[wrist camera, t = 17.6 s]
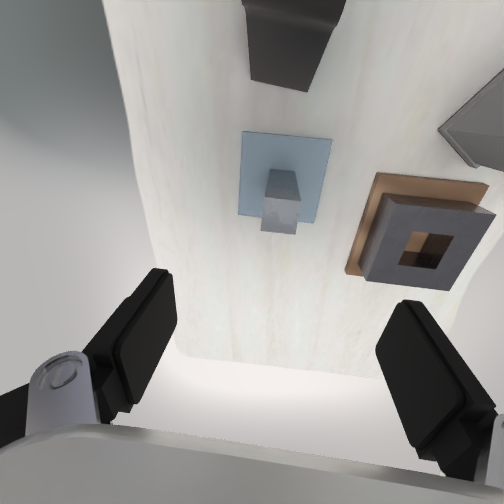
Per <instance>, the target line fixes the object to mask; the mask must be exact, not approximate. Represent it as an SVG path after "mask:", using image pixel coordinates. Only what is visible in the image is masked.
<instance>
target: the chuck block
mask: <svg viewBox="0 0 504 504" xmlns="http://www.w3.org/2000/svg"><path fill="white" fill-rule="evenodd" d="M495 216H496V214H494V213H492V212H490V211H488V210H486V209H484V208H482V207H480V206H478V205H476V204H474V203H472V202H467V201H457V200H448V199H438V198H429V197H419V196H410V195H400V194H391V193H382V196H381V199H380V201H379V204H378V207H377V210H376V213H375V216H374V218H373V221H372V224H371V227H370V230H369V233H368V235H367V238H366V241H365V244H364V247H363V250H362V252H361V255H360V258H359V261H358V265H359V267H360V270H361V272H362V274H363V276H364V278H365V280H366V281H371V282H379V283H387V284H395V285H404V286H412V287H420V288H428V289H436V290H444V291H449V290H450V289H451V287H452V286H453V284H454V282H455V281H456V279H457V278H458V276H459V274H460V273H461V271H462V269H463V268H464V266H465V265H466V263H467V261H468V260H469V258H470V257H471V255H472V253H473V252H474V250H475V249H476V247H477V245H478V244H479V242H480V241H481V239H482V237H483V236H484V234H485V233H486V231H487V229H488V228H489V226H490V224H491V223H492V221H493V220H494V218H495ZM413 231H414V232H423V233H429V234H428V236H427V238H426V240H425V242H424V244H423V246H422V248H421V250H420V252H412V251H404V250H405V247H406V245H407V243H408V241H409V239H410V236H411V234H412V232H413Z"/></svg>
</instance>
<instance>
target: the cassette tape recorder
mask: <svg viewBox="0 0 504 504" xmlns="http://www.w3.org/2000/svg"><path fill="white" fill-rule="evenodd" d="M438 130H439V132H440V133H441V134H442V135H443V136H444V137H445V138H446V140H447V141H448V142H449V143H450V144H451V145H452V146H453V148H454V149H455V150H456V151H457V152H458V153H459V154H460V156H461V157H462V158H463V159H464V160H465V161H466V163H467V164H468V165H469V166H470V167H474V168H478V167H479V166H480V165H482V166H485V167H489V168H492V169H496V170H499V171H503V172H504V70H503V71H502V72H501V73H500V74H498V75H497V76H496V77H495V78H494V79H493V80H492V81H491V82H490V83H489V84H487V85H486V86H485V87H484V88H483V89H482V90H481V91H480V92H479V93H478V94H477V95H475V96H474V97H473V98H472V99H471V100H470V101H469V102H468V103H467V104H466V105H465V106H463V107H462V108H461V109H460V110H459V111H458V112H457V113H456V114H455V115H454V116H452V117H451V118H450V119H449V120H448V121H447V122H446V123H445V124H444V125H443V126H442V127H440V128H439V129H438Z"/></svg>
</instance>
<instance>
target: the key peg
mask: <svg viewBox="0 0 504 504" xmlns="http://www.w3.org/2000/svg"><path fill="white" fill-rule="evenodd" d="M300 205H301V197H300V192H299V188H298V183H297V178H296V173H295V171H288V170H278V169H270V170H269V175H268V180H267V185H266V190H265V195H264V203H263V213H262V223H261V231H268V232H277V233H286V234H295V233H296V227H297V222H298V216H299V211H300Z"/></svg>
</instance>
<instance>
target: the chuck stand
mask: <svg viewBox="0 0 504 504" xmlns="http://www.w3.org/2000/svg"><path fill="white" fill-rule="evenodd" d="M488 187H489V185H486V184H484V183H475V182H465V181H455V180H446V179H436V178H426V177H416V176H406V175H397V174H387V173H377V174H376V177H375V180H374V183H373V186H372V189H371V192H370V195H369V198H368V201H367V204H366V207H365V210H364V213H363V216H362V219H361V222H360V225H359V229H358V232H357V235H356V238H355V241H354V244H353V247H352V250H351V253H350V256H349V259H348V262H347V265H346V268H345V272H346V274H348V275H356V276H363V274H362V272H361V270H360V267H359V265H358V261H359V258H360V255H361V252H362V250H363V247H364V244H365V241H366V238H367V235H368V233H369V230H370V227H371V224H372V221H373V218H374V216H375V213H376V210H377V207H378V204H379V201H380V199H381V196H382V193H391V194H400V195H410V196H419V197H429V198H438V199H448V200H457V201H467V202H472V203H474V204H476V205H479V203H480V201H481V200H482V198H483V196H484V194H485V193H486V191H487V189H488ZM428 234H429V233H423V232H414V231H413V232H412V234H411V236H410V239H409V241H408V243H407V245H406V247H405V250H404V251H412V252H420V250H421V248H422V246H423V244H424V242H425V240H426V238H427V236H428Z"/></svg>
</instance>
